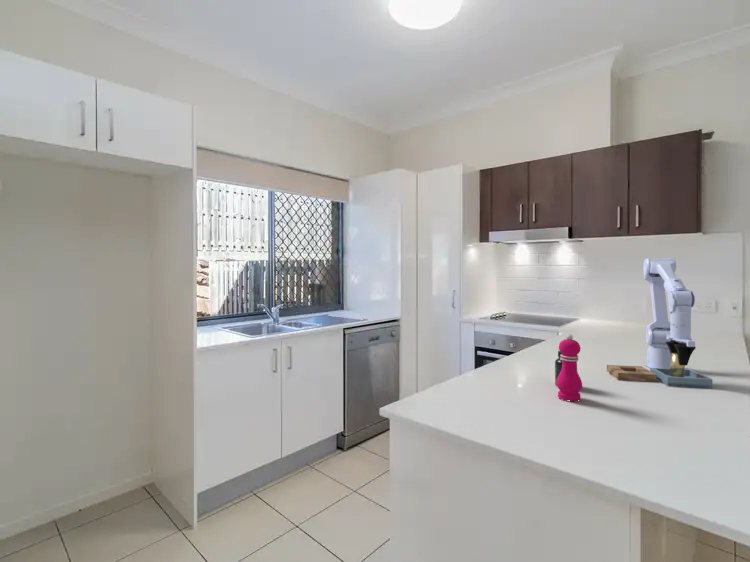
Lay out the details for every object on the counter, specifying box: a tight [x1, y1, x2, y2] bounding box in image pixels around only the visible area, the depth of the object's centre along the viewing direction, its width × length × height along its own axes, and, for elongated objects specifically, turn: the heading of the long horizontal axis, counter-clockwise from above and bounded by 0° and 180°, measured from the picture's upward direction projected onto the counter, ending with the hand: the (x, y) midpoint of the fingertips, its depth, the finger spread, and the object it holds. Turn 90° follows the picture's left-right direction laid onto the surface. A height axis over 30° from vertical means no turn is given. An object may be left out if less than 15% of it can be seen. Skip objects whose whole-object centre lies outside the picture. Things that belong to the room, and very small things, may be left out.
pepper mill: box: [555, 333, 583, 402], centre depth 122 cm, size 7×7×20 cm
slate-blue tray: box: [649, 368, 713, 389], centre depth 139 cm, size 13×13×3 cm
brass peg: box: [670, 353, 686, 377], centre depth 139 cm, size 4×4×8 cm
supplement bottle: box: [554, 350, 562, 387], centre depth 134 cm, size 7×7×12 cm
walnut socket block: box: [606, 364, 657, 383], centre depth 146 cm, size 12×12×2 cm
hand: (679, 363), depth 139 cm, fingers closed on brass peg, 4 cm apart
